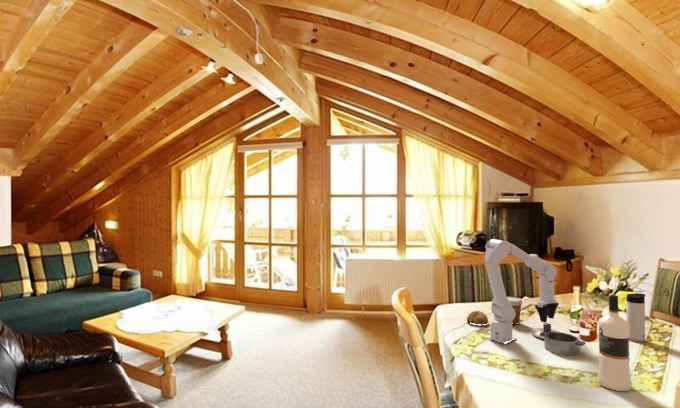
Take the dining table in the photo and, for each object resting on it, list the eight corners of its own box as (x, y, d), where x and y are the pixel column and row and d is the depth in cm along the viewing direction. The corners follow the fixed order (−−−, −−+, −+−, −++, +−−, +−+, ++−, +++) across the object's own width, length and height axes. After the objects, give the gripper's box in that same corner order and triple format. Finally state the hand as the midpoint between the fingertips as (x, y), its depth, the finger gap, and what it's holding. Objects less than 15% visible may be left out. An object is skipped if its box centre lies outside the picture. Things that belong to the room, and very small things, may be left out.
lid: (556, 344, 160) (556, 331, 159) (526, 336, 169) (526, 323, 169) (568, 336, 168) (568, 324, 167) (538, 329, 177) (538, 317, 177)
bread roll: (488, 334, 182) (494, 319, 182) (468, 325, 182) (475, 310, 182) (480, 327, 192) (487, 313, 192) (462, 318, 192) (468, 304, 192)
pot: (578, 359, 144) (577, 346, 144) (534, 347, 156) (534, 335, 156) (589, 351, 151) (589, 338, 151) (547, 340, 164) (547, 328, 164)
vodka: (635, 395, 118) (635, 300, 117) (600, 389, 122) (599, 297, 121) (627, 381, 126) (626, 293, 126) (594, 376, 130) (593, 290, 130)
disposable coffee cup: (520, 327, 180) (520, 302, 180) (499, 323, 186) (499, 299, 186) (524, 322, 188) (524, 298, 188) (504, 318, 194) (504, 295, 194)
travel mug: (649, 343, 158) (649, 296, 158) (631, 342, 160) (631, 295, 159) (640, 337, 164) (640, 292, 164) (623, 337, 166) (623, 291, 165)
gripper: (549, 294, 160) (549, 325, 161) (563, 288, 170) (563, 318, 170) (532, 291, 166) (532, 322, 166) (546, 286, 175) (546, 315, 175)
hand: (547, 320), depth 168 cm, fingers open, 7 cm apart
